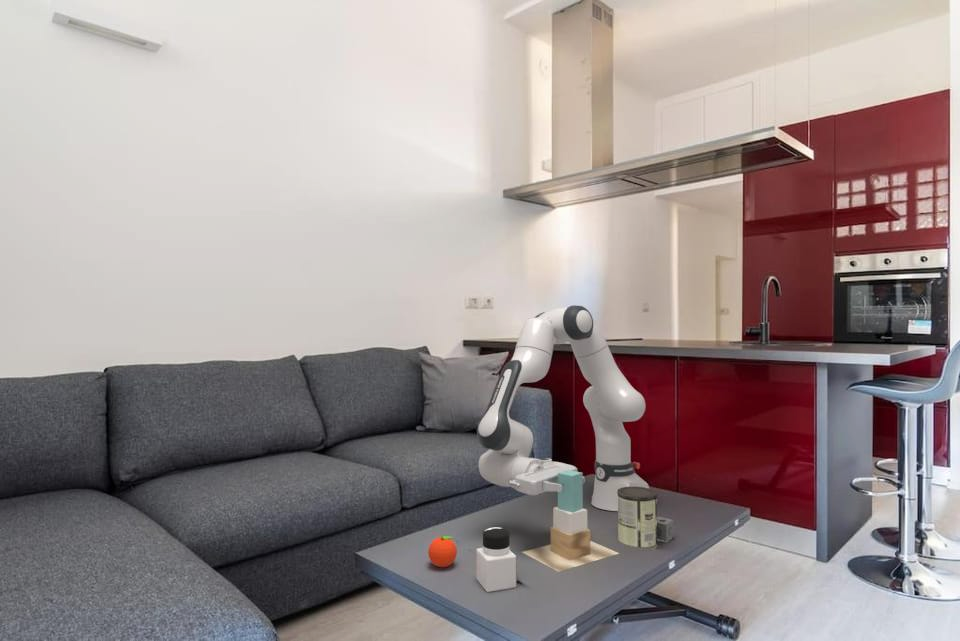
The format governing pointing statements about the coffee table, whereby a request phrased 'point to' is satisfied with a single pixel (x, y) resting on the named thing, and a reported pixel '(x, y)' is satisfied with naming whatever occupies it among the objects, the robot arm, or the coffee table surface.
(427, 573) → the coffee table surface
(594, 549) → the birch board
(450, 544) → the clementine
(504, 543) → the medicine bottle
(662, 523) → the dice cube
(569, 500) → the teal block
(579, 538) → the oak block
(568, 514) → the white block
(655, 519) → the coffee can
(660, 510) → the coffee table surface
